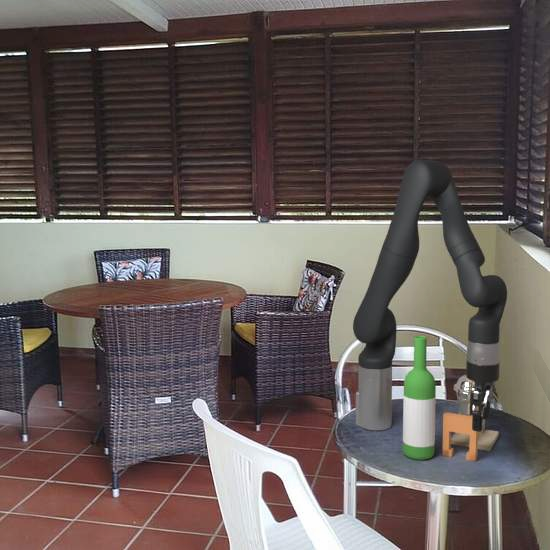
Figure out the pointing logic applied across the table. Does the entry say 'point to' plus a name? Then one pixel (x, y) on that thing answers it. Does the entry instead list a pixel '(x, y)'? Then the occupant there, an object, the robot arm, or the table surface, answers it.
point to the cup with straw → (463, 395)
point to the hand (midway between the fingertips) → (481, 424)
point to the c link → (459, 426)
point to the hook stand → (484, 437)
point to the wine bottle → (419, 406)
